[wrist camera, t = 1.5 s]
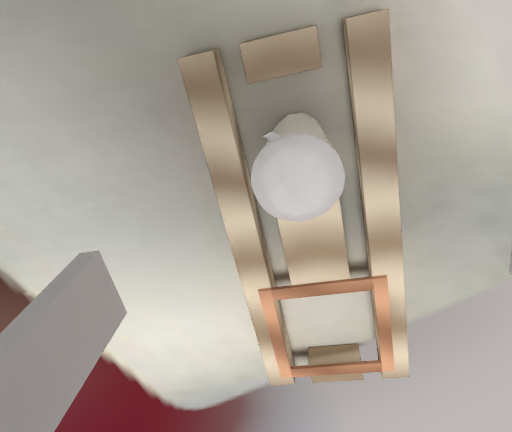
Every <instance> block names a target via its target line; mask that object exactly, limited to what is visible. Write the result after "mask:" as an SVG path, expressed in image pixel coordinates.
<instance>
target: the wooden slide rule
mask: <svg viewBox="0 0 512 432" xmlns="http://www.w3.org/2000/svg"><path fill="white" fill-rule="evenodd" d="M343 29H344V38H345V48H346V57H347V67H348V76H349V86H350V95H351V105H352V114H353V124H354V133H355V143H356V152H357V162H358V171H359V181H360V190H361V200H362V209H363V219H364V228H365V238H366V247H367V257H368V266H369V276H370V277H363V278H354V279H350V275H349V267H348V259H347V252H346V244H345V237H344V229H343V222H342V214H341V207H340V199H338V200H337V201H336V203H335V204H334V205H333V206H332V207H331V208H330V209H329V210H328V211H327V212H325V213H324V214H322V215H320V216H318V217H316V218H313V219H310V220H307V221H303V222H294V221H289V220H283V219H279V218H277V221H278V225H279V230H280V235H281V239H282V244H283V249H284V253H285V258H286V262H287V267H288V272H289V276H290V281H291V286H282V287H276V284H275V280H274V276H273V272H272V268H271V263H270V259H269V255H268V251H267V247H266V242H265V238H264V234H263V230H262V226H261V222H260V217H259V213H258V209H257V205H256V201H255V196H254V192H253V189H252V185H251V180H250V176H249V171H248V167H247V163H246V159H245V155H244V150H243V146H242V142H241V138H240V134H239V129H238V125H237V121H236V117H235V113H234V109H233V104H232V100H231V96H230V92H229V88H228V83H227V79H226V75H225V71H224V67H223V63H222V58H221V54H220V50H219V48H218V49H214V50H210V51H206V52H202V53H197V54H193V55H189V56H185V57H182V58H179V59H177V60H178V64H179V67H180V71H181V74H182V78H183V81H184V85H185V88H186V92H187V95H188V99H189V102H190V106H191V109H192V113H193V116H194V120H195V123H196V127H197V130H198V134H199V137H200V141H201V144H202V148H203V151H204V155H205V158H206V162H207V165H208V169H209V172H210V176H211V179H212V183H213V186H214V190H215V193H216V197H217V200H218V203H219V207H220V210H221V214H222V217H223V221H224V224H225V228H226V231H227V235H228V238H229V242H230V245H231V249H232V252H233V256H234V259H235V263H236V266H237V270H238V273H239V277H240V280H241V284H242V287H243V291H244V294H245V298H246V301H247V305H248V308H249V312H250V315H251V319H252V322H253V326H254V329H255V333H256V336H257V340H258V343H259V347H260V350H261V353H262V357H263V360H264V364H265V367H266V371H267V374H268V378H269V381H270V385H285V384H295V377H307V376H311V377H312V382H313V383H318V382H335V381H351V380H363V373H366V372H367V373H368V372H381V374H382V378H400V377H409V360H408V342H407V325H406V307H405V290H404V272H403V255H402V237H401V220H400V203H399V185H398V168H397V150H396V133H395V115H394V98H393V80H392V63H391V46H390V28H389V11H388V9H382V10H377V11H373V12H369V13H365V14H361V15H356V16H352V17H348V18H344V19H343ZM239 46H240V50H241V55H242V59H243V64H244V69H245V73H246V78H247V82H248V84H249V83H254V82H258V81H263V80H268V79H272V78H277V77H281V76H286V75H291V74H295V73H300V72H304V71H309V70H314V69H318V68H322V63H321V56H320V48H319V41H318V33H317V26H316V25H315V26H310V27H306V28H302V29H298V30H294V31H289V32H285V33H281V34H277V35H273V36H269V37H264V38H260V39H256V40H252V41H248V42H244V43H241V44H239ZM368 290H371V295H372V305H373V314H374V324H375V333H376V343H377V351H378V361H362V362H361V358H360V354H359V347H358V344H347V345H334V346H322V347H309V348H308V354H309V365H305V366H295V364H294V360H293V355H292V351H291V347H290V343H289V339H288V335H287V330H286V326H285V322H284V318H283V314H282V309H281V305H280V301H279V300H282V299H291V298H301V297H310V296H320V295H330V294H339V293H349V292H358V291H368Z"/></svg>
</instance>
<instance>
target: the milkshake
mask: <svg viewBox="0 0 512 432" xmlns="http://www.w3.org/2000/svg"><path fill="white" fill-rule="evenodd" d="M263 137H265V138H267V139H268V141H267V142H266V144H265V145H264V147H263V148H262V150H261V151H260V152H259V154H258V155H257V157H256V159H255V161H254V164H253V167H252V172H251V185H252V189H253V192H254V194H255V196H256V199H257V200H258V202H259V204H260V205H261V206H262V208H263V209H264V210H265V211H266V212H268V213H269V214H270V215H272V216H273V217H276V218H279V219H283V220H289V221H294V222H303V221H307V220H310V219H313V218H316V217H318V216H320V215H322V214H324V213H325V212H327V211H328V210H329V209H330V208H331V207H332V206H333V205H334V204H335V203H336V201H337V200H338V199H339V197H340V196H341V194H342V191H343V188H344V184H345V173H344V168H343V165H342V162H341V159H340V157H339V155H338V154H337V152H336V151H335V150H334V148H333V147H332V145H331V144H330V142H329V141H328V139H327V138H326V136H325V134H324V132H323V130H322V128H321V127H320V125H319V123H318V121H317V120H316V119H314V118H313V117H311V116H309V115H308V114H306V113H304V112H302V113H292V114H288V115H287V116H285V117H284V118H283V119H282V120H281V121H280V122H279V123H278V124H277V125H276V126H275V128H274V130H273V132H270V133H268V134H265V135H263Z"/></svg>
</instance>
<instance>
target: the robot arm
mask: <svg viewBox="0 0 512 432" xmlns="http://www.w3.org/2000/svg"><path fill="white" fill-rule="evenodd" d="M509 272H510V274H511V275H512V246H511V258H510V271H509ZM126 313H127V311H126V309H125V307H124V305H123V303H122V300H121V298H120V296H119V294H118V292H117V289H116V287H115V285H114V283H113V281H112V278H111V276H110V274H109V272H108V270H107V267H106V265H105V263H104V261H103V259H102V256H101V254H100V252H99V251H93V252H86V253H79V254H78V255H77V256H76V257H75V258H74V259H73V260H72V261H71V262H70V263H69V264H68V265H67V267H66V268H65V269H64V270H63V271H62V272H61V273H60V274H59V275H58V276H57V277H56V278H55V279H54V280H53V281H52V282H51V283H50V284H49V285H48V286H47V287H46V288H45V289H44V290H43V291H42V292H41V293H40V294H39V295H38V296H37V297H36V298H35V299H34V300H33V301H32V302H31V303H30V304H29V305H28V306H27V307H26V308H25V309H24V310H23V311H22V312H21V313H20V314H19V315H18V316H17V317H16V318H15V319H14V320H13V322H11V323H10V324H9V326H7V328H6V329H5V330H4V331H3V332H2V333H1V334H0V432H54V431H55V429H56V428H57V426H58V424H59V423H60V421H61V419H62V418H63V416H64V414H65V413H66V411H67V410H68V408H69V406H70V405H71V403H72V402H73V400H74V398H75V397H76V395H77V393H78V391H79V390H80V388H81V387H82V385H83V384H84V382H85V380H86V378H87V377H88V375H89V374H90V372H91V370H92V369H93V367H94V365H95V364H96V362H97V361H98V359H99V357H100V356H101V354H102V353H103V351H104V349H105V348H106V346H107V344H108V343H109V341H110V340H111V338H112V336H113V335H114V333H115V331H116V330H117V328H118V326H119V325H120V323H121V322H122V320H123V318H124V317H125V315H126Z"/></svg>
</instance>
